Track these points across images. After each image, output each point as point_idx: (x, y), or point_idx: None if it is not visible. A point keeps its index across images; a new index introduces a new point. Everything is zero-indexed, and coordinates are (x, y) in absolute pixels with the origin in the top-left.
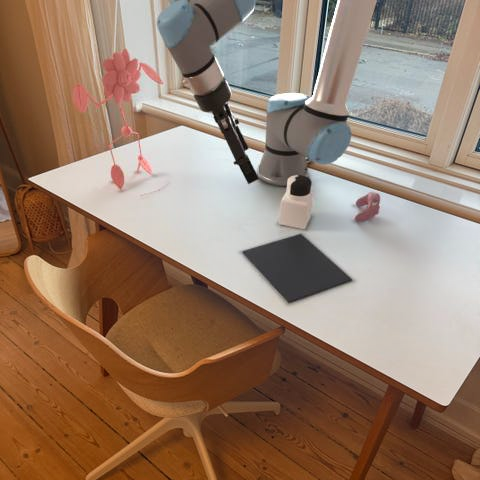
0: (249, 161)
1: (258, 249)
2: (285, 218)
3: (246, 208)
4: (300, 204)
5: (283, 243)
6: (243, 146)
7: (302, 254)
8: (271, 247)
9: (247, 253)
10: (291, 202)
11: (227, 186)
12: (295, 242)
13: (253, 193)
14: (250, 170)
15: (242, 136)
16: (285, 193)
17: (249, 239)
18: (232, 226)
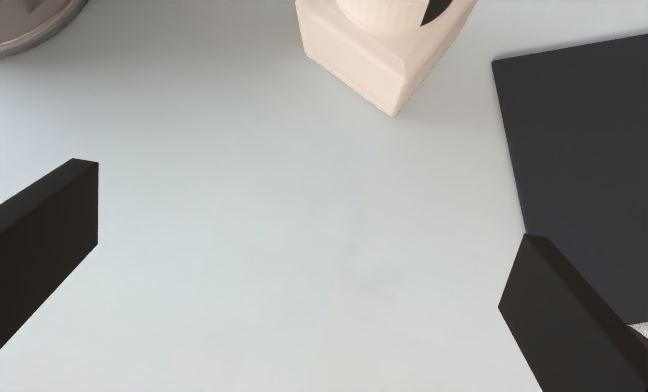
0: (645, 354)
1: None
2: (413, 88)
3: (223, 205)
4: (468, 3)
5: (542, 155)
6: (79, 208)
7: (636, 113)
8: (556, 213)
9: None
10: (439, 39)
11: None
12: (548, 106)
13: (109, 131)
14: (644, 341)
15: (26, 217)
16: (344, 34)
17: (463, 276)
18: (346, 313)
